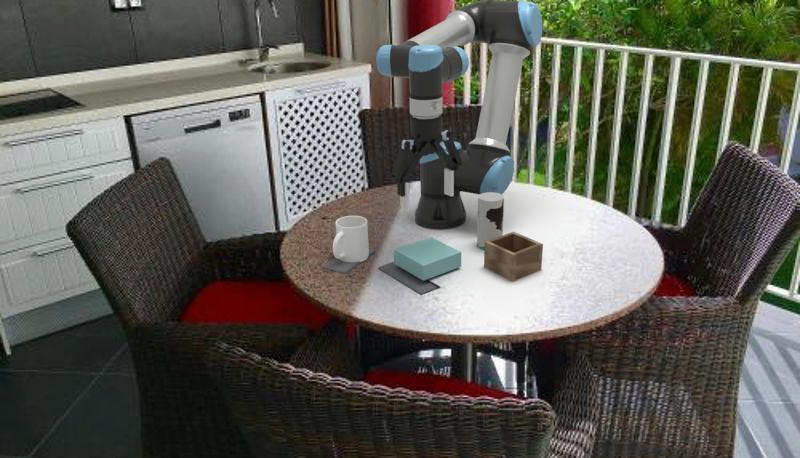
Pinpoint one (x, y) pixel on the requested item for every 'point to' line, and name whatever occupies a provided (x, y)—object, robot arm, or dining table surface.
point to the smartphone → (342, 264)
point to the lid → (427, 258)
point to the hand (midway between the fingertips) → (427, 201)
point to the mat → (408, 278)
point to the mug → (351, 239)
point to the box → (513, 256)
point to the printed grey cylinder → (489, 217)
